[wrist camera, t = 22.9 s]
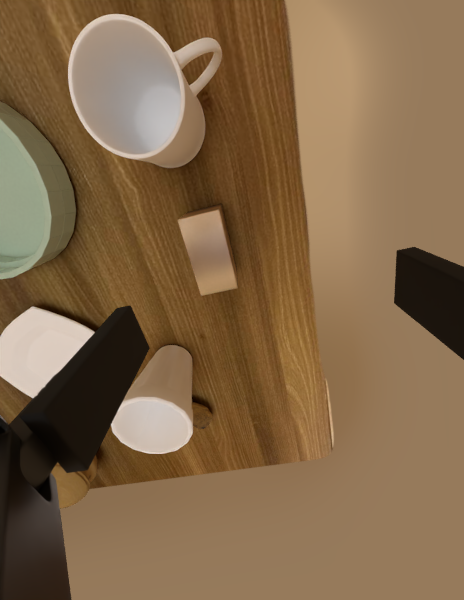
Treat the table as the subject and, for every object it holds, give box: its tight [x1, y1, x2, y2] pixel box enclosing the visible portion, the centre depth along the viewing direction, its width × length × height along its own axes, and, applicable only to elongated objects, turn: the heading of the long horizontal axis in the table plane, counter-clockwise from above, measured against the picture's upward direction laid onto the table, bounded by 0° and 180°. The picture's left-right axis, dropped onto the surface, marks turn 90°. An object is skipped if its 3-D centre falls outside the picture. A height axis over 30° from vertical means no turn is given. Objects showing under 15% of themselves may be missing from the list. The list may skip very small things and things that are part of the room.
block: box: [178, 204, 238, 296], centre depth 31 cm, size 9×4×6 cm, turn 13°
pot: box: [51, 455, 98, 509], centre depth 48 cm, size 12×12×10 cm
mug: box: [68, 14, 222, 168], centre depth 23 cm, size 12×8×12 cm
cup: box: [111, 345, 193, 454], centre depth 37 cm, size 10×10×13 cm
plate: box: [0, 306, 95, 398], centre depth 42 cm, size 19×19×2 cm
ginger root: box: [192, 402, 213, 429], centre depth 46 cm, size 10×10×4 cm
